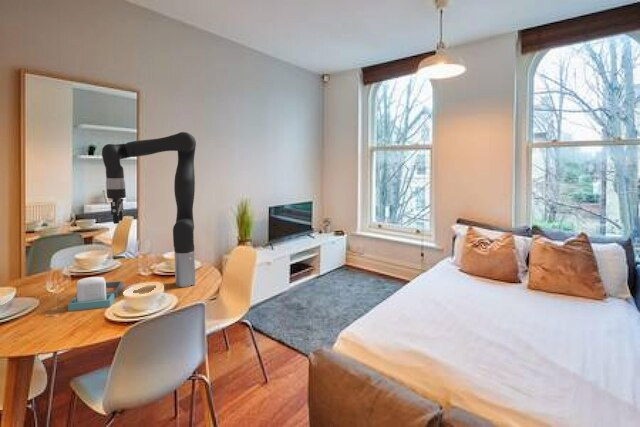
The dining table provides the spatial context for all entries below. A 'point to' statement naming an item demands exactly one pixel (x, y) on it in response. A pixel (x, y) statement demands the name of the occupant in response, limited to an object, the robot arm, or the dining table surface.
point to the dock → (91, 303)
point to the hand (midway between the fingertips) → (118, 222)
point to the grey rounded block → (91, 289)
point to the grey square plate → (115, 284)
